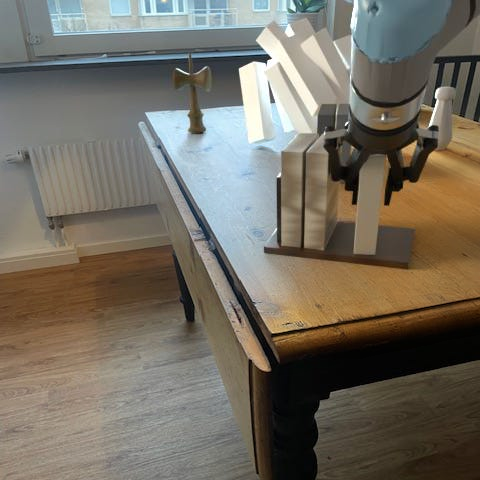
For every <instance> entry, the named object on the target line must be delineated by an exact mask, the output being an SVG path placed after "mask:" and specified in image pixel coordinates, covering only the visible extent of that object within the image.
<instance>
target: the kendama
mask: <svg viewBox="0 0 480 480" xmlns="http://www.w3.org/2000/svg"><path fill="white" fill-rule="evenodd" d="M188 69H189V73H187V72H185V71H183V70H181V69H180V68H176V67H175V68H174V69H173V73H172V82H173V88H174V89H175V91H176V92H180V91H182V90H183V89H184V88H186V87H188V86H190V87H189V88H190V101H189V102H190V104H189V112H188V113H187V115H186V116H187V117H188V119H189V127H188V129H187V132H188V133H190V132H191V133H190V134H201V133H200V132H202V133H204V132H206V131H207V127H206V126H205V124H204V121H203V117H204V115H205V113H204V112H203V111H202V109H201V107H200V102H199V98H198V93H197V87H196V86H198V87H200V88H202V89H203V90H204V91H206V92H210V91H211V89H212V73H211V72H212V71H211V69H210V67H209V66H205V67H203V68H202V69H201V70H200V71H198V72H196V73H194V65H193V58H192V53H191V52H189V53H188Z"/></svg>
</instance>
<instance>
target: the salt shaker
mask: <svg viewBox="0 0 480 480" xmlns="http://www.w3.org/2000/svg"><path fill="white" fill-rule="evenodd" d="M456 95H457V89H456V88H455V87H452V86H440V87H438V88H437V89H436V90H435V94H434V98H435V99H436V103H435V106H434V109H433V112H432V115H431V118H430V121H429V123H428V124H429V125H428V127H429V126H432V125H437V126H438V127H439V135H438V147H437V148H436V149H435V150H434V151H436V152H437V151H445V150H446V149H447V147H448V146H449V145H450V143H451V141H452V140H453V100H454V99H456Z"/></svg>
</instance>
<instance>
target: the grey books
mask: <svg viewBox="0 0 480 480" xmlns="http://www.w3.org/2000/svg"><path fill="white" fill-rule="evenodd" d="M336 107H337V104H322V105H321V107H320V110H319V113H318V119H317V129H316V134H319V137H320V136H321V135H322V134H324V132H325V127H327V126H333V127H334V128H335V126H336V128H335V129H336V130H341V129H344V127H345V125H346V123H347V122H348V121H349V104H339V107H338V111H337V117H336ZM351 154H352V146H351V145H350V144H349V143H347V142H346V141H345V140H344V141H343V145H342V153H341V160H342V166H346V161H347V162H348V160H349V158H350V156H351ZM340 184H345V181H344V180H341V179H340Z"/></svg>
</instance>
